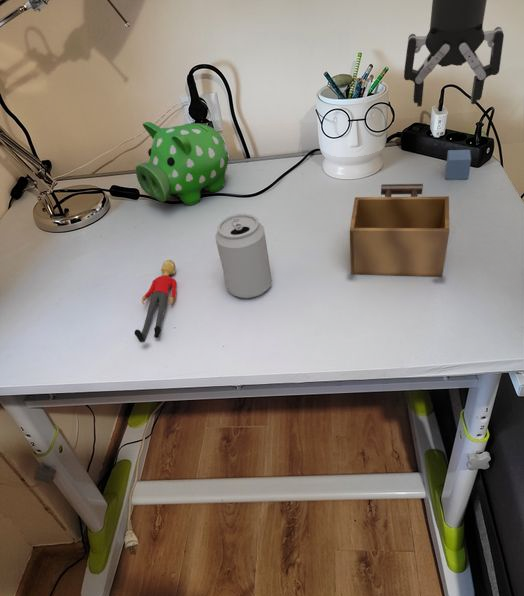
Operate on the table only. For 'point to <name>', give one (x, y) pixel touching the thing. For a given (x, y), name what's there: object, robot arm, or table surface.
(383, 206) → the drawer
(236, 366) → the table surface
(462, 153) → the slate blue cube
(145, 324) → the person figure
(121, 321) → the table surface
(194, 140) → the piggy bank
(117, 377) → the table surface
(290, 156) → the table surface
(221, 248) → the can
